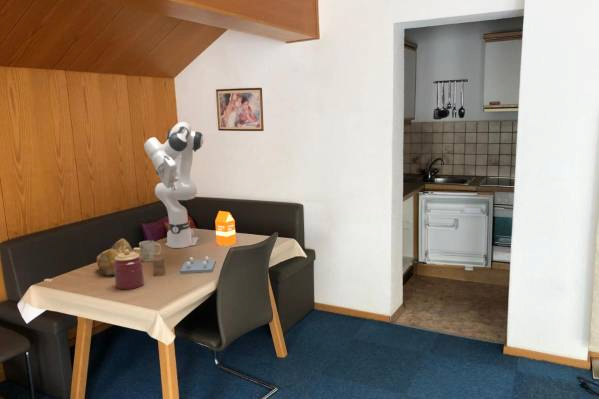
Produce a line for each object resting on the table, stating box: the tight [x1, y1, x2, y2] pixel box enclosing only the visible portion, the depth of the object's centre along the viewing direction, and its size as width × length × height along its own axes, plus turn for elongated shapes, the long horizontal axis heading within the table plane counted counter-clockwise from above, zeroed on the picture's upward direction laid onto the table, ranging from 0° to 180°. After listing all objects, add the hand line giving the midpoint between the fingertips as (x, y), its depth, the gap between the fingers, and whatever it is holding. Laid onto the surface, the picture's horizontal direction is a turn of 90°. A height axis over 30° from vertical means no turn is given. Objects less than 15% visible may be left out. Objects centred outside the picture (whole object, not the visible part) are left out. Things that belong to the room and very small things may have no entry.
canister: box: [113, 249, 145, 290], centre depth 240 cm, size 13×13×18 cm
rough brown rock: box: [96, 237, 134, 276], centre depth 265 cm, size 23×17×15 cm
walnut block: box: [152, 256, 166, 277], centre depth 255 cm, size 4×4×8 cm
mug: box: [138, 240, 162, 262], centre depth 282 cm, size 8×13×10 cm, turn 137°
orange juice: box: [214, 210, 237, 247], centre depth 306 cm, size 8×9×20 cm
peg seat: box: [179, 255, 217, 275], centre depth 263 cm, size 16×16×4 cm
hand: (176, 184), depth 258 cm, fingers open, 8 cm apart
